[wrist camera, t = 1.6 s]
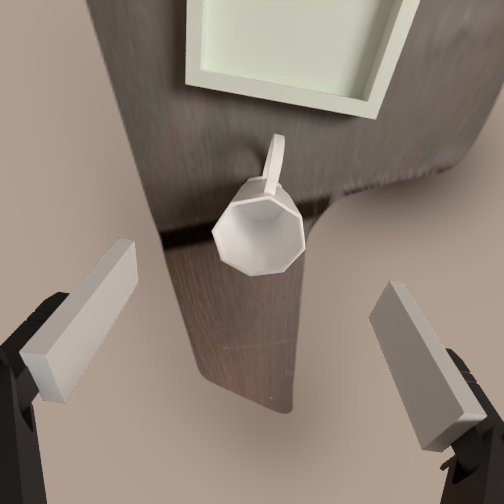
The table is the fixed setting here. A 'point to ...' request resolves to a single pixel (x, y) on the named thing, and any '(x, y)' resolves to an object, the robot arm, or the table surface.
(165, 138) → the table surface
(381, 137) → the table surface
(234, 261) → the cup
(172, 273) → the table surface
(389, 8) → the tray
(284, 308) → the table surface
